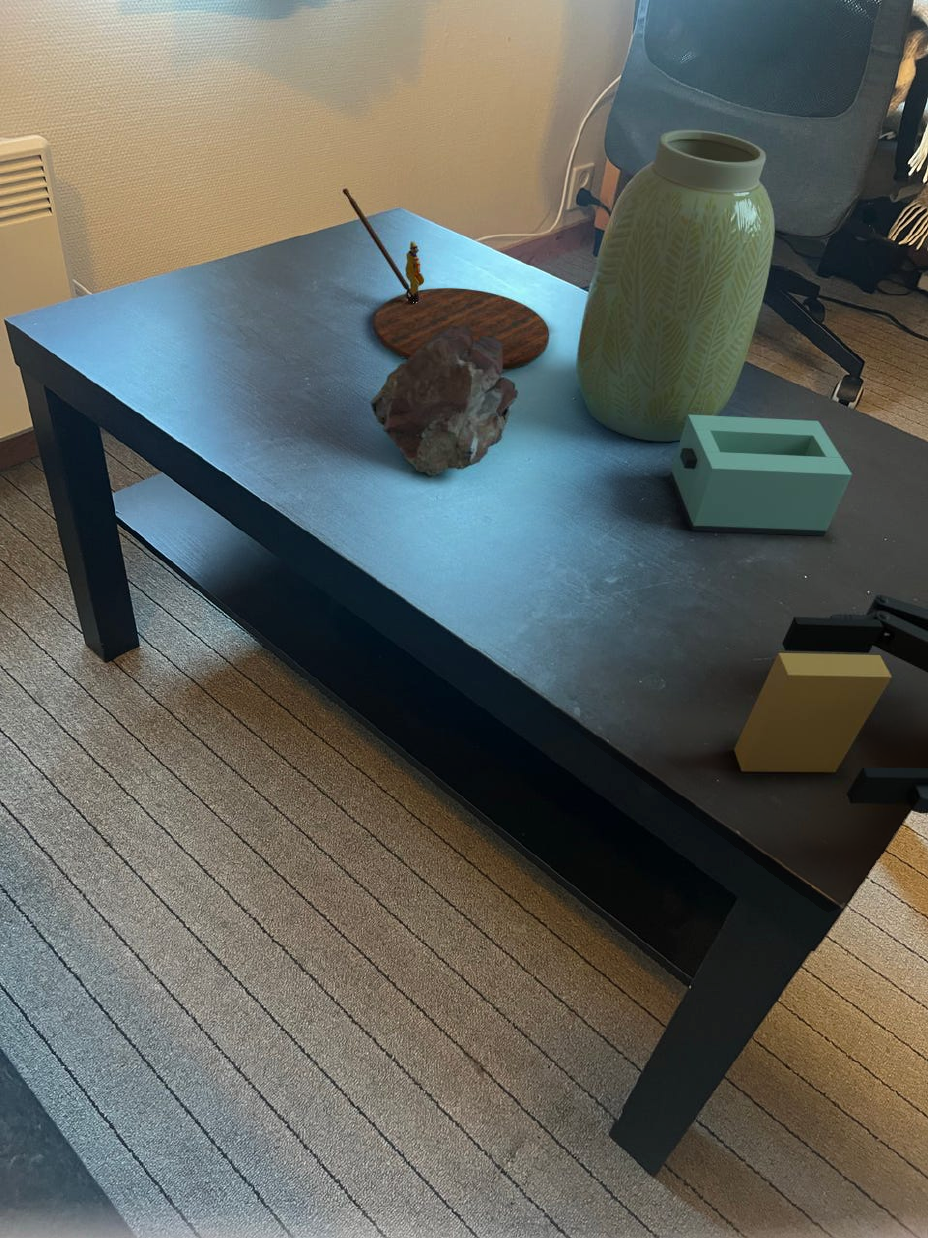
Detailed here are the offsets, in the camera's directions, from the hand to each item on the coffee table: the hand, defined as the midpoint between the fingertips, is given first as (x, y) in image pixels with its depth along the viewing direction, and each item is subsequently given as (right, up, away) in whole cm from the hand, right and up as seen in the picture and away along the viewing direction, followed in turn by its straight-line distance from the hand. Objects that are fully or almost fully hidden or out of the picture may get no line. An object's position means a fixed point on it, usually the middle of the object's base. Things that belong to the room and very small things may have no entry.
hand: (819, 703), depth 63 cm
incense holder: (-28, +42, +51) cm, 72 cm away
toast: (-1, -5, +4) cm, 6 cm away
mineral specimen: (-26, +24, +31) cm, 47 cm away
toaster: (+3, +17, +27) cm, 32 cm away
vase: (-4, +29, +39) cm, 49 cm away
